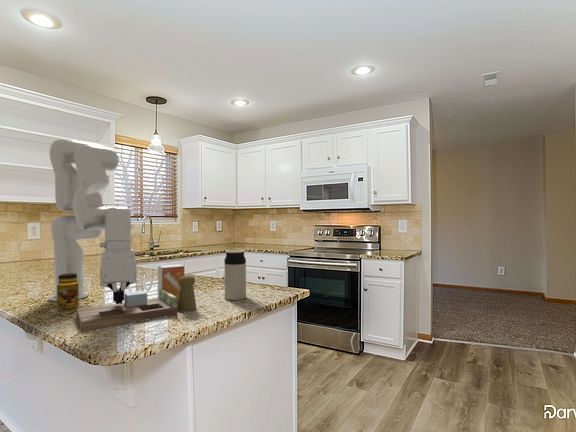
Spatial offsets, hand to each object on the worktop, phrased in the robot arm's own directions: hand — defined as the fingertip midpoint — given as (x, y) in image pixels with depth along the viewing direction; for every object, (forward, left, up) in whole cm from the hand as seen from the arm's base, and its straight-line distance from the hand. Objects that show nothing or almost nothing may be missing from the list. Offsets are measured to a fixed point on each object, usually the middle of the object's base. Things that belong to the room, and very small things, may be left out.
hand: (118, 303), depth 112 cm
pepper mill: (+7, +20, -4) cm, 21 cm away
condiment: (-16, -13, -4) cm, 21 cm away
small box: (-7, +19, -4) cm, 20 cm away
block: (0, +5, -1) cm, 5 cm away
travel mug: (+3, +40, -4) cm, 40 cm away
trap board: (+4, +2, -3) cm, 6 cm away
